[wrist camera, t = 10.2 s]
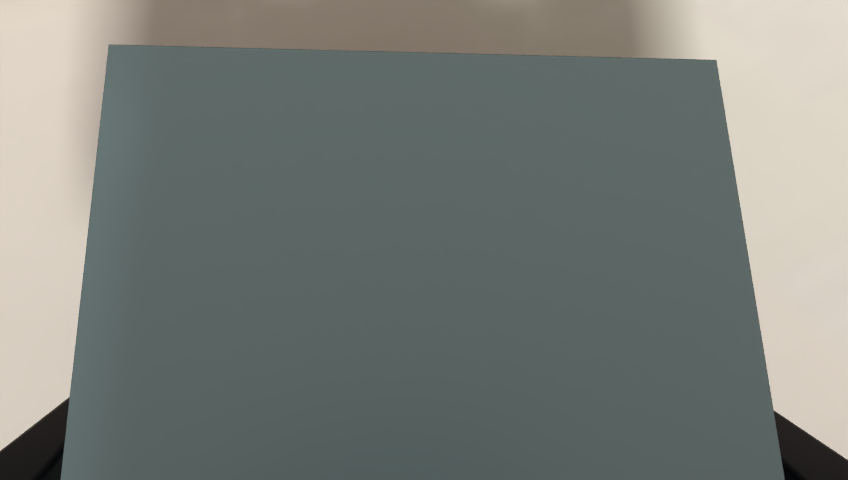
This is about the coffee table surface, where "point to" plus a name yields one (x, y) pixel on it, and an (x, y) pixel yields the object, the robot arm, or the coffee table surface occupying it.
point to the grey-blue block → (415, 272)
